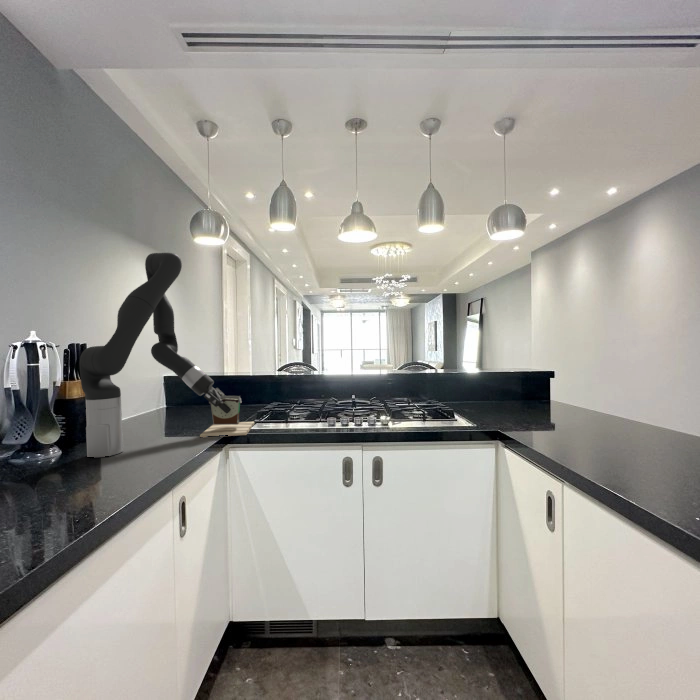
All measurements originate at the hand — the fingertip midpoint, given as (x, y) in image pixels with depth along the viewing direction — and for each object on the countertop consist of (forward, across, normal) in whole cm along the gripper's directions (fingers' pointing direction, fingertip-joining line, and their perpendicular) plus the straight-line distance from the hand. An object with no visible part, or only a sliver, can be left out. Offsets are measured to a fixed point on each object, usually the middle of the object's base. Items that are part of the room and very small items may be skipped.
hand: (231, 410), depth 149 cm
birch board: (+5, 0, +6) cm, 8 cm away
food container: (+3, 0, +4) cm, 5 cm away
